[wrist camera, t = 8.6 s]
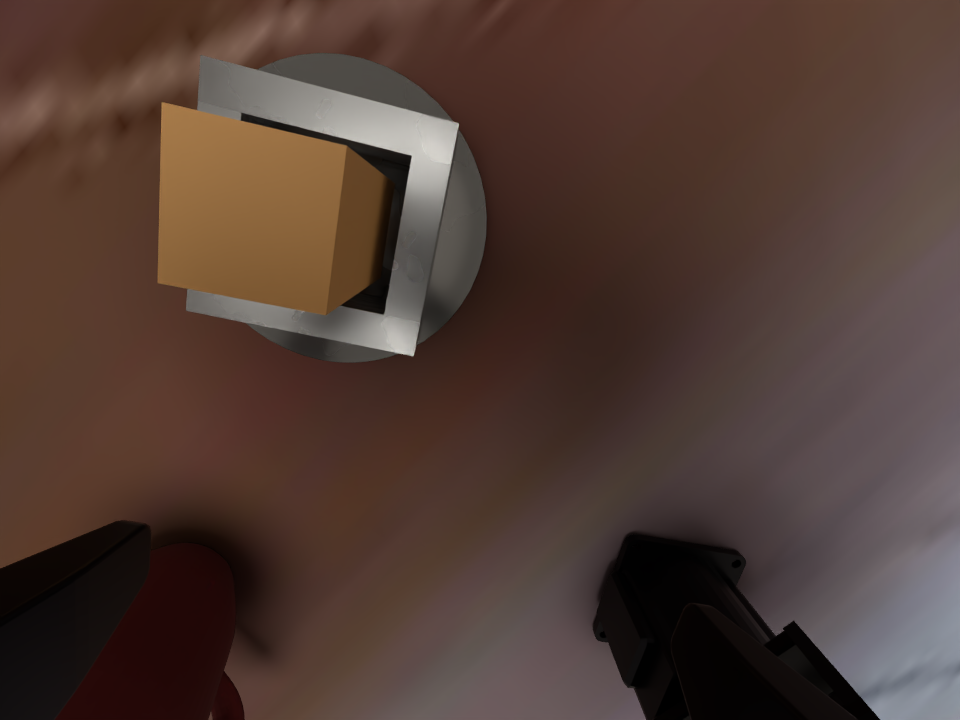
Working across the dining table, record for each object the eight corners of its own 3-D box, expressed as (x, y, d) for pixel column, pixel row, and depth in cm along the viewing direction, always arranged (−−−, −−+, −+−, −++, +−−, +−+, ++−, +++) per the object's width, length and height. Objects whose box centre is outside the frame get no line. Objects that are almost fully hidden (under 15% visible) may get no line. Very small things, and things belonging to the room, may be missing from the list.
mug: (343, 616, 24) (269, 883, 14) (227, 693, 24) (83, 991, 15) (190, 473, 21) (-34, 683, 11) (66, 565, 22) (-238, 832, 12)
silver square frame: (513, 109, 17) (531, 73, 13) (453, 376, 20) (453, 413, 16) (213, 27, 16) (134, -40, 12) (194, 325, 19) (125, 352, 15)
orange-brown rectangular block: (395, 183, 17) (347, 145, 9) (380, 277, 18) (325, 315, 10) (298, 161, 16) (161, 101, 9) (288, 258, 17) (157, 282, 10)
